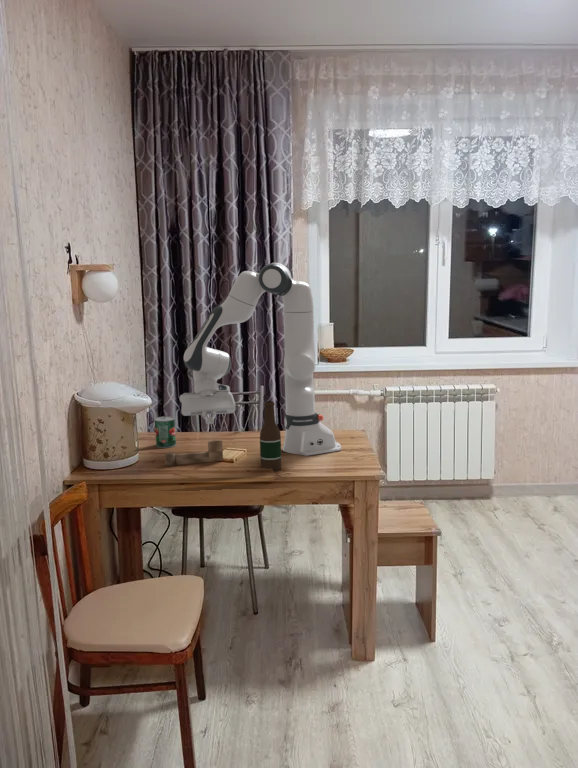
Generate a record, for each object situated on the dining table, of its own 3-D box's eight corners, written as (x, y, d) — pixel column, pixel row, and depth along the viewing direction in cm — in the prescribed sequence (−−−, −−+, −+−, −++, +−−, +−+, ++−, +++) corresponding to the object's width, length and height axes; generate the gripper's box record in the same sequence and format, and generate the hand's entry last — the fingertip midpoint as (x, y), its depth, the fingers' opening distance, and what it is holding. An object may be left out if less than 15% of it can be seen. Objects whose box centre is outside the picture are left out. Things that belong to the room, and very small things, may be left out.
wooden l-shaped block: (220, 454, 252) (219, 435, 250) (223, 461, 243) (222, 441, 242) (164, 459, 247) (163, 439, 246) (165, 466, 239) (164, 446, 237)
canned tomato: (178, 446, 270) (177, 419, 268) (159, 449, 267) (157, 421, 265) (172, 441, 277) (171, 415, 275) (153, 444, 274) (152, 417, 272)
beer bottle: (256, 467, 240) (254, 400, 236) (277, 464, 243) (275, 398, 239) (264, 473, 233) (262, 405, 229) (285, 470, 236) (284, 402, 232)
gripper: (179, 388, 256) (182, 419, 248) (233, 386, 260) (237, 416, 252) (178, 398, 261) (181, 428, 253) (232, 395, 265) (236, 425, 258)
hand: (210, 422), depth 253 cm, fingers closed
